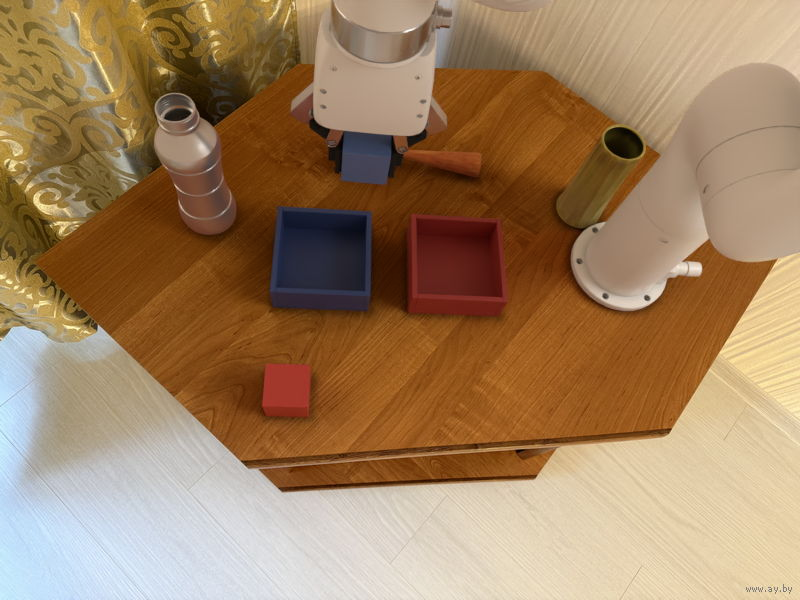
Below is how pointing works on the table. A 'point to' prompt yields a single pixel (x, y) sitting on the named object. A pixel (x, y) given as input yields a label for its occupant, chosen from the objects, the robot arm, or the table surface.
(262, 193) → the table surface
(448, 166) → the kendama
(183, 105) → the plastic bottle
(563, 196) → the vase
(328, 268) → the blue bin
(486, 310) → the red bin
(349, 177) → the blue block
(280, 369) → the red block
